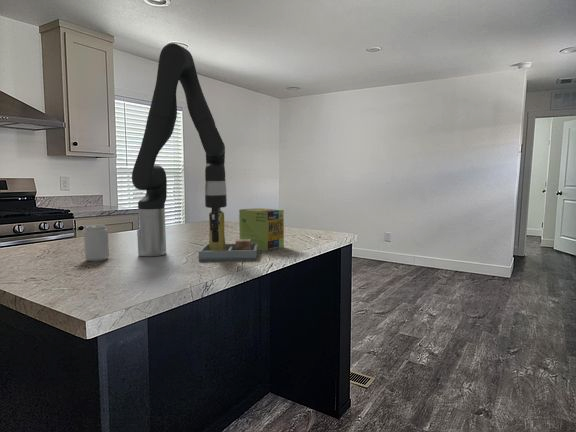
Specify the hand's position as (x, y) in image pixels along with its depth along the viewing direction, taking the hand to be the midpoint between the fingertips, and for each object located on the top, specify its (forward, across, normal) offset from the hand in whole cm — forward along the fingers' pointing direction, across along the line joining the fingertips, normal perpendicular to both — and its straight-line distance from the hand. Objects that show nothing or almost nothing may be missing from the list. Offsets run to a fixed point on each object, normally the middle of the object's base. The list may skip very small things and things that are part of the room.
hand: (216, 240), depth 140 cm
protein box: (+6, +17, -16) cm, 24 cm away
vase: (+4, 0, 0) cm, 4 cm away
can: (+6, -3, +41) cm, 42 cm away
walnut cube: (+5, 0, -10) cm, 11 cm away
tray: (+6, 0, -5) cm, 7 cm away
